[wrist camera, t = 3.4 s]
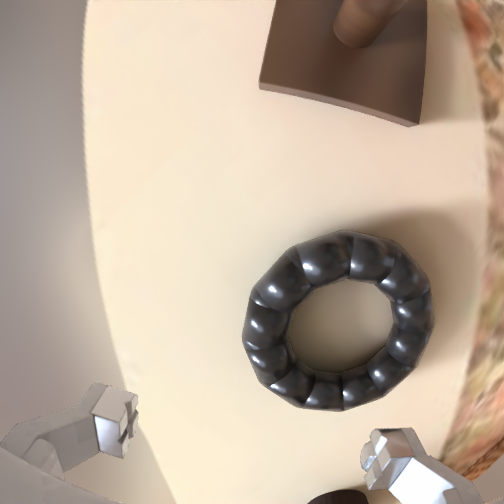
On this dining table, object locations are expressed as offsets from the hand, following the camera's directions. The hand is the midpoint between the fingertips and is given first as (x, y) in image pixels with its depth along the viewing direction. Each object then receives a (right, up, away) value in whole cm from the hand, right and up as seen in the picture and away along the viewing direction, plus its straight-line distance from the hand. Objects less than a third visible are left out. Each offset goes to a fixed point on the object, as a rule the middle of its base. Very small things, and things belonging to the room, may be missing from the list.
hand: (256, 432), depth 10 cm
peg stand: (+5, +18, +6) cm, 20 cm away
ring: (+5, +1, +9) cm, 10 cm away
